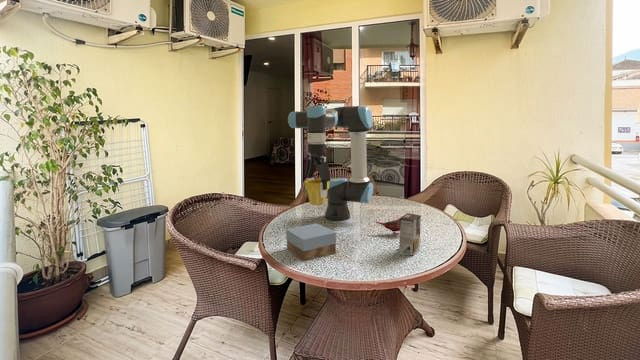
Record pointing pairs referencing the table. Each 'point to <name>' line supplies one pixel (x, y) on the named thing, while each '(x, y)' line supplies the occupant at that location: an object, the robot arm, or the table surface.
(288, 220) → the table surface
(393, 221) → the decorative bird figurine
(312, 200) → the plant pot
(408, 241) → the coffee box
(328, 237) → the tower top
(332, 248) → the tower base
